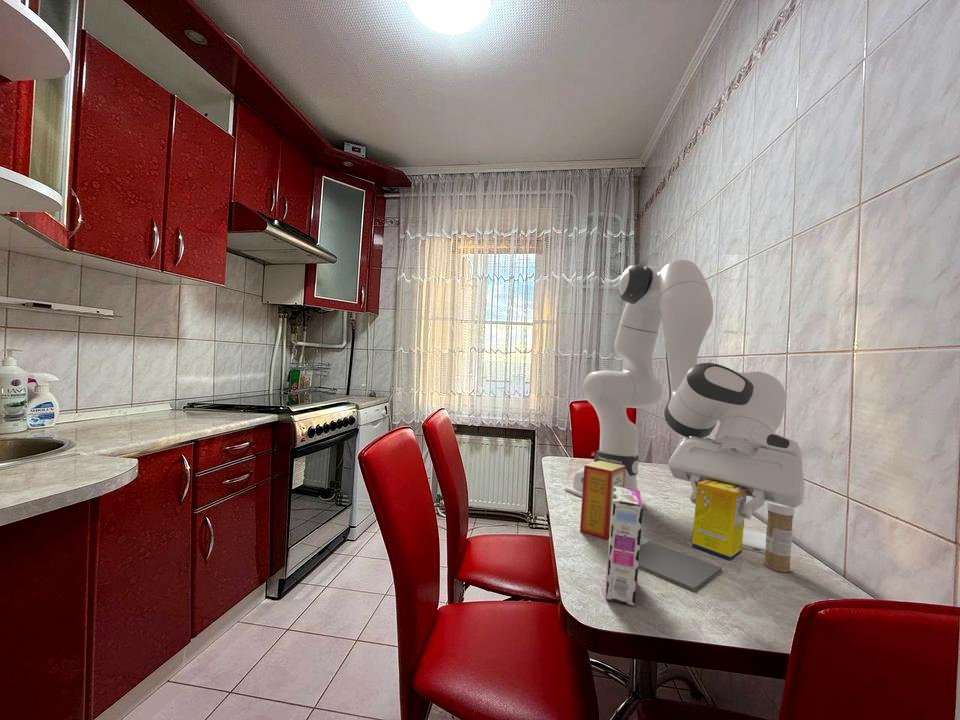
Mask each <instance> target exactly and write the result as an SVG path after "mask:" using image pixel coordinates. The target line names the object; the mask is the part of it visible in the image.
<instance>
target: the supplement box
mask: <svg viewBox="0 0 960 720" xmlns="http://www.w3.org/2000/svg"><path fill="white" fill-rule="evenodd" d="M746 495H747V488H746V487H741V486H737V485H733V484H729V483H725V482H721V481H717V480H712V479H709V480H706V481H702V482H698V483H697V494H696V504H695V507H694V517H693V518H694V519H693V531H692V539H691V540H692V541H691V542H692V543H691V548H692V549H693V550H696V551H699V552H702V553H705V554H708V555H711V556H713V557H717V558H718V559H722V560H724V561H727V562H731V561H733V560H734V559H735V558H737V557H739V556H740V555H741V554H742V550H743V548H742V541H743V529H745V527H744V526H745V518H744V517H740V516H739V513H738V510H739V507H740V503H741V502H743V503H747V496H746Z"/></svg>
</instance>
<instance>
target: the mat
mask: <svg viewBox="0 0 960 720" xmlns="http://www.w3.org/2000/svg"><path fill="white" fill-rule="evenodd" d="M638 569H640V570H642V571H645V572H647V573H650V574H652V575H654V576H656V577H659V578H661V579H662V580H663V579H664V580H666V581H668V582H671V583H673V584H675V585H678V586H679V587H682V588H684V589H686V590H689V591H691V592H695V591H696V590H698V589H699V588H700V587H702V586H704V584H706V583H707V582H709V580H711V579H712V578H714V577H715V576H716V574H717V573H718V574H719V573H721V572H722V571H723V567H722V566H719V565H716V564H714V563H711V562H708V561H705V560H702V559H699V558H697V557H694V556H692V555H689V554H686V553H684V552H681V551H678V550H675V549H674V548H673V549H672V548H669V547H667V546H664V545H662V544H658V543H656V542H653V541H651V540H648V541H646V542H644V543H642V544H640V553H639V566H638ZM721 570H722V571H721ZM720 571H721V572H720ZM718 574H717V575H718Z"/></svg>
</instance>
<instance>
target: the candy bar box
mask: <svg viewBox="0 0 960 720" xmlns="http://www.w3.org/2000/svg"><path fill="white" fill-rule="evenodd" d="M643 512H644V505H643V501H642V496H641V492H640V490H639V489H638V490H635V489H630V488H623V487H616V486H614V488H613V497H612V509H611V522H610V534H609V539H608V550H607V561H606V562H607V563H606V564H607V565H606V581H605V586H606V587H605V600H607V601H611V602H615V603H619V604H623V605H625V606H630V607H636V601H637V590H638V589H637V588H638V578H639V576H638V575H639V568H638V566H639V553H640V545H641V539H642V524H643V514H644V513H643Z"/></svg>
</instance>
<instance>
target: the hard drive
mask: <svg viewBox="0 0 960 720" xmlns="http://www.w3.org/2000/svg"><path fill="white" fill-rule="evenodd" d="M765 545H766V532H765V533H764V532H759V531H756V530H751V529H750V530H749V529H745V528H744V529H743V541H742V549H744V550H749V551H752V550H753V552H756V553H760V552H761V554H764V553H765V551H766V548H765Z"/></svg>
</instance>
